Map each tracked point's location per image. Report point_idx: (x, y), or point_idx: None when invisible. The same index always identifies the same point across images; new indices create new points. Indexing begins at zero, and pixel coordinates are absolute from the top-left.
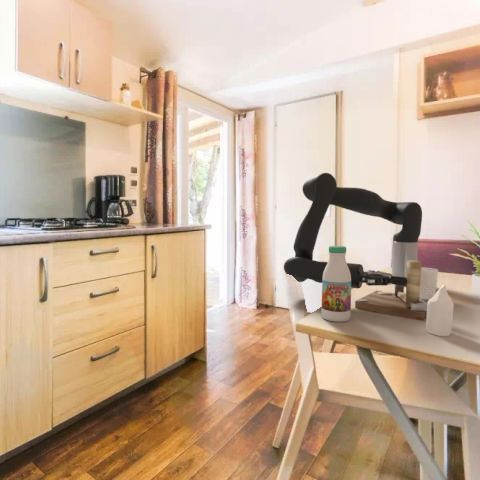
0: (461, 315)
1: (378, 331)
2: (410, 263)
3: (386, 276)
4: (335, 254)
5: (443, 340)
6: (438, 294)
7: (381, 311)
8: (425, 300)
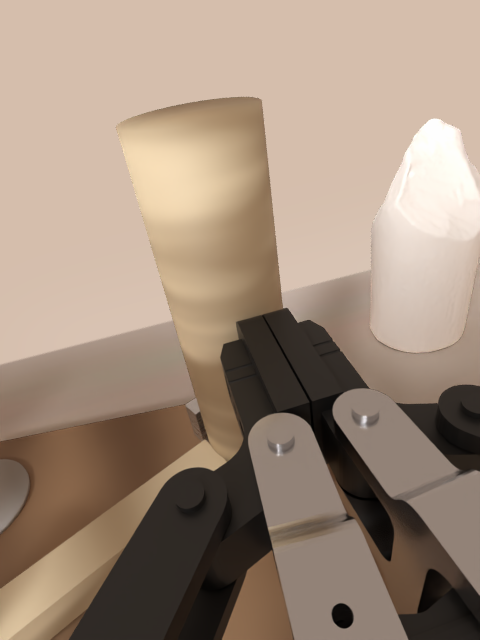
0: (111, 363)
1: None
2: (263, 126)
3: (473, 395)
4: None
5: (475, 292)
6: (470, 163)
7: None
8: (20, 478)
